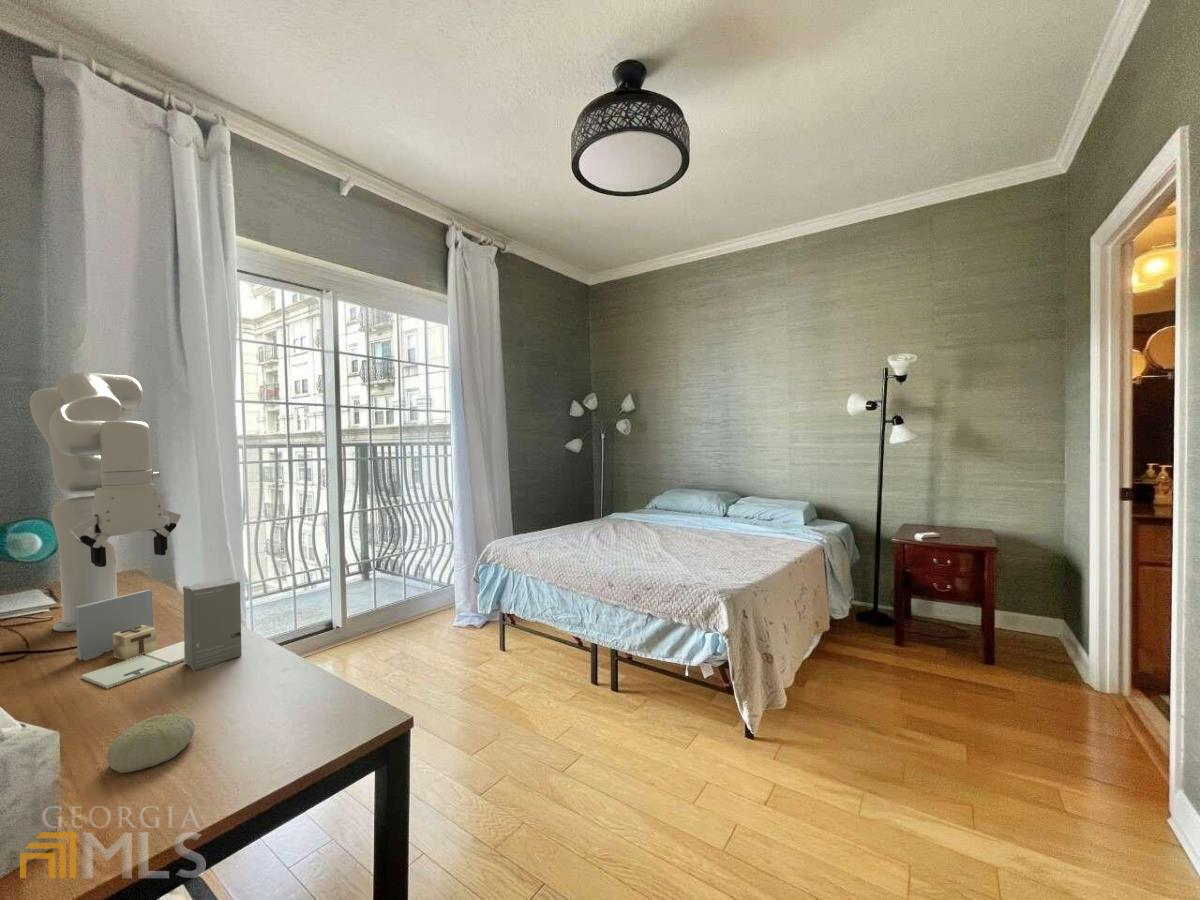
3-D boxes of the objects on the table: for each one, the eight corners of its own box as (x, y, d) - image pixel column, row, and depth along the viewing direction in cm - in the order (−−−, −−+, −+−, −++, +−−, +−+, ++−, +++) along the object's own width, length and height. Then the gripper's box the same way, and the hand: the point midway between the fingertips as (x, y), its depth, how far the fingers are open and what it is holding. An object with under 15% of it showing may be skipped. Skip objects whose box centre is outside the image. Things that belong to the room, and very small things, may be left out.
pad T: (81, 678, 91) (81, 674, 91) (142, 657, 99) (142, 654, 99) (107, 688, 87) (107, 684, 87) (168, 666, 95) (168, 662, 95)
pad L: (145, 656, 99) (145, 653, 99) (196, 639, 108) (196, 636, 108) (171, 665, 95) (171, 661, 95) (222, 646, 103) (222, 643, 103)
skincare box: (192, 672, 92) (189, 591, 92) (183, 662, 97) (179, 585, 96) (245, 655, 99) (241, 580, 99) (233, 647, 103) (230, 575, 103)
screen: (75, 658, 99) (72, 606, 99) (148, 635, 110) (146, 588, 110) (83, 661, 98) (80, 608, 97) (156, 638, 109) (154, 590, 108)
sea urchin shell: (214, 717, 74) (182, 702, 68) (186, 779, 68) (148, 768, 63) (154, 719, 73) (116, 705, 68) (120, 781, 68) (76, 771, 62)
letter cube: (113, 657, 100) (112, 632, 99) (144, 647, 104) (143, 623, 104) (126, 661, 98) (125, 636, 97) (157, 651, 102) (155, 627, 102)
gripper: (168, 475, 109) (172, 549, 110) (60, 483, 93) (64, 569, 94) (186, 476, 106) (190, 552, 107) (78, 484, 90) (82, 573, 91)
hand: (131, 560), depth 100 cm, fingers open, 9 cm apart
